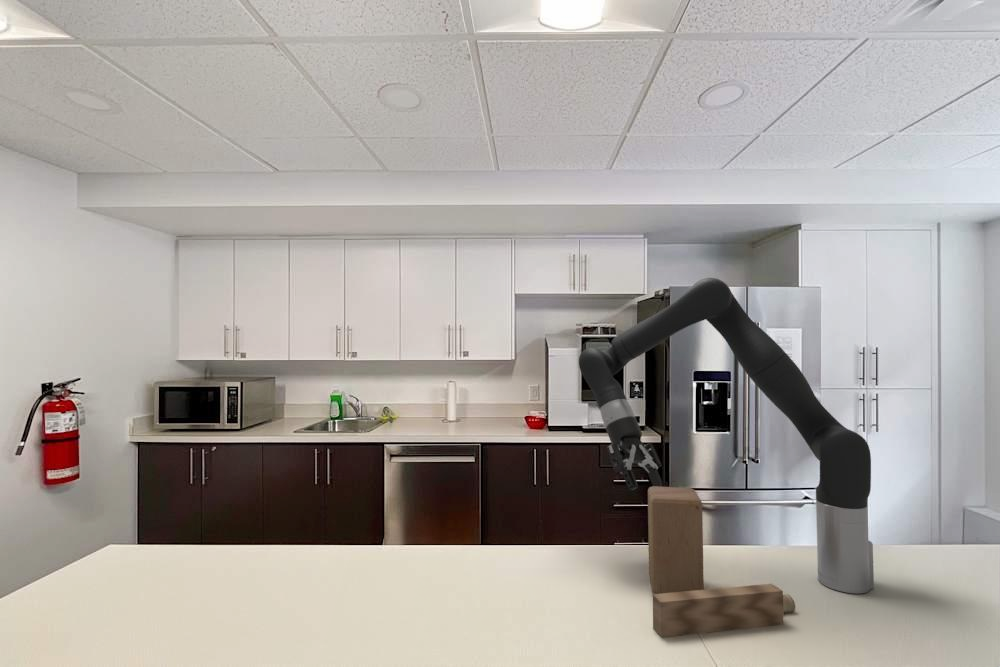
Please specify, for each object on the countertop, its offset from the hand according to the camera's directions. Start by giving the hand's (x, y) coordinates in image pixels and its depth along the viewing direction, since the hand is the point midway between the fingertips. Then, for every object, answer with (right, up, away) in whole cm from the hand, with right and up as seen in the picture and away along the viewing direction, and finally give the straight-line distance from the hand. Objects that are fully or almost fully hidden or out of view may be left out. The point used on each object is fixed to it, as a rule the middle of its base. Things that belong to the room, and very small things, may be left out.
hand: (646, 488), depth 115 cm
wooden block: (+4, -19, -7) cm, 21 cm away
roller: (+18, -19, -17) cm, 31 cm away
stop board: (+7, -18, -22) cm, 30 cm away
